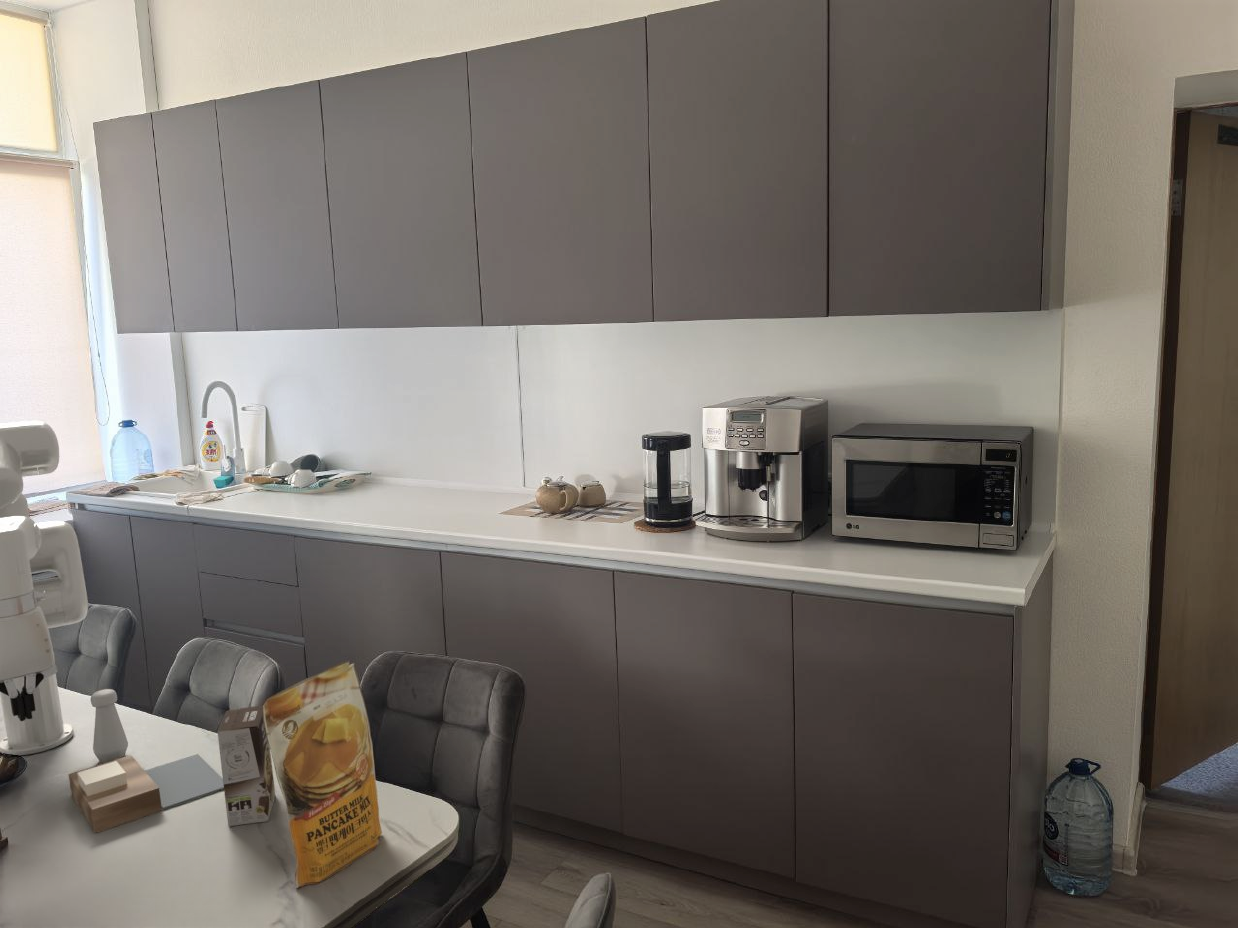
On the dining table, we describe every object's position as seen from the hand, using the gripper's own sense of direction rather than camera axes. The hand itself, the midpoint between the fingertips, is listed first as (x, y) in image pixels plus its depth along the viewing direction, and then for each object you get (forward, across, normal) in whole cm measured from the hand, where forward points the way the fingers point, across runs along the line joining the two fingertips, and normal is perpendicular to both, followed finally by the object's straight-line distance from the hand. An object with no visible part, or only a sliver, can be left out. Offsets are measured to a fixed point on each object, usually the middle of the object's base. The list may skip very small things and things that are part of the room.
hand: (24, 717), depth 158 cm
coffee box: (+19, -27, +19) cm, 38 cm away
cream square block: (+14, -10, 0) cm, 17 cm away
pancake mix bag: (+19, -31, +43) cm, 56 cm away
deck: (+19, -11, 0) cm, 22 cm away
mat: (+19, -22, 0) cm, 29 cm away
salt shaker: (+19, -15, -20) cm, 31 cm away
